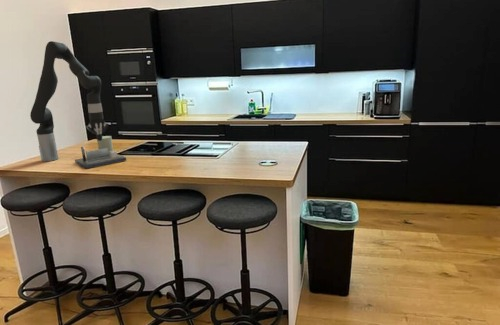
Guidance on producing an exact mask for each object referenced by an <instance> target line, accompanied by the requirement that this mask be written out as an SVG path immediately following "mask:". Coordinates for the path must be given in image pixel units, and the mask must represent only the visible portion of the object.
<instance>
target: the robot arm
mask: <svg viewBox="0 0 500 325" xmlns="http://www.w3.org/2000/svg"><path fill="white" fill-rule="evenodd" d="M43 56H44V59H43V66H42V70H41V74H40V78H39V82H38V86H37V87H38V88H37V92H36V95H35V100H34V102H33V105H32V106H31V110H30V113H29V114H30V120H31V121H32V122H33V123H34V124H38V125H39V126H38V128H37V129H36V137H37V142H38V149H39V154H40V160H41V161H42V162H44V163H45V162H51V161H56V160H58V159H59V154H58V149H57V144H56V138H55V133H54V128H55V127H54V126H55V125H54V117H53V113H52V111H51V110H50V109H49V108H48V107H47V105H48V104H49V102H50V100H51V99H52V97H54V95H55V93H56V90H57V87H58V83H59V82H58V76H57V73H56V70H55V62H56V59H58V60H63V61H65V62H66V63H67V64H68V67H69V70H70V71H71V73H72V74H73V75H74V76H75V78H77V79H78V82H79V83H80V85H81V86H82V87H83V88H84V89H86V90H91V91H90V92H89V93H87V94H86V101H87V109H88V117H89V123H88V125H86V126H85V128H86V129H87V130H88V131H89V132H90V133H91V134H93V135H95V136H96V137H95V138H96V141H97V140H98V141H101V139H102V136H103V134H105V133H106V131H107V129H108V127H109V126H110V124H109V123H107V122H106V121H105V120H104V113H103V112H104V111H103V105H102V100H101V90H102V80H101V77H99V76H98V75H90V71H89V70H88V69H87V68H86V67H85V66H84V65H83V64H82V63H81V62H80V61H79V60H78V59H77V58H76V57H75V55H74V54H73V53H72V51H71V49H70V47H68V45H66V44H64V43H62V42H57V41H48V42H47V43H46V44H45V50H44V55H43ZM92 128H93V129H92Z"/></svg>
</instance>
